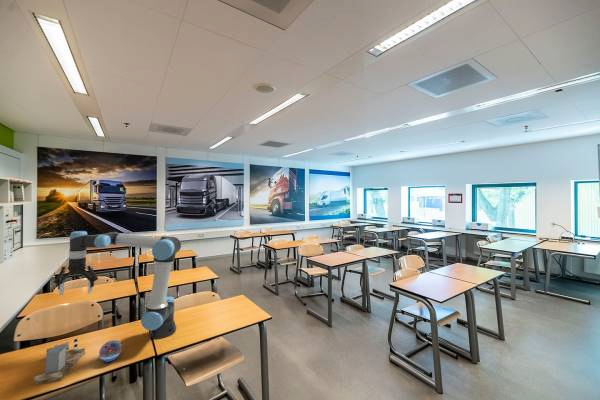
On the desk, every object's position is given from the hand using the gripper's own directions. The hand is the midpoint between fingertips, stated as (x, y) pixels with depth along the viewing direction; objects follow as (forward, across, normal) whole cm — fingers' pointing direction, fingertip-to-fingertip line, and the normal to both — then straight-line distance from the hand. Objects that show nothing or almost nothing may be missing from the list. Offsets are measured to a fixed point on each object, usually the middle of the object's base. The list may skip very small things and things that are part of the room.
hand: (76, 293), depth 144 cm
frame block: (+30, -4, +24) cm, 39 cm away
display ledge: (+32, -4, +19) cm, 37 cm away
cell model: (+32, -25, +18) cm, 44 cm away
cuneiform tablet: (+32, +2, +7) cm, 33 cm away
